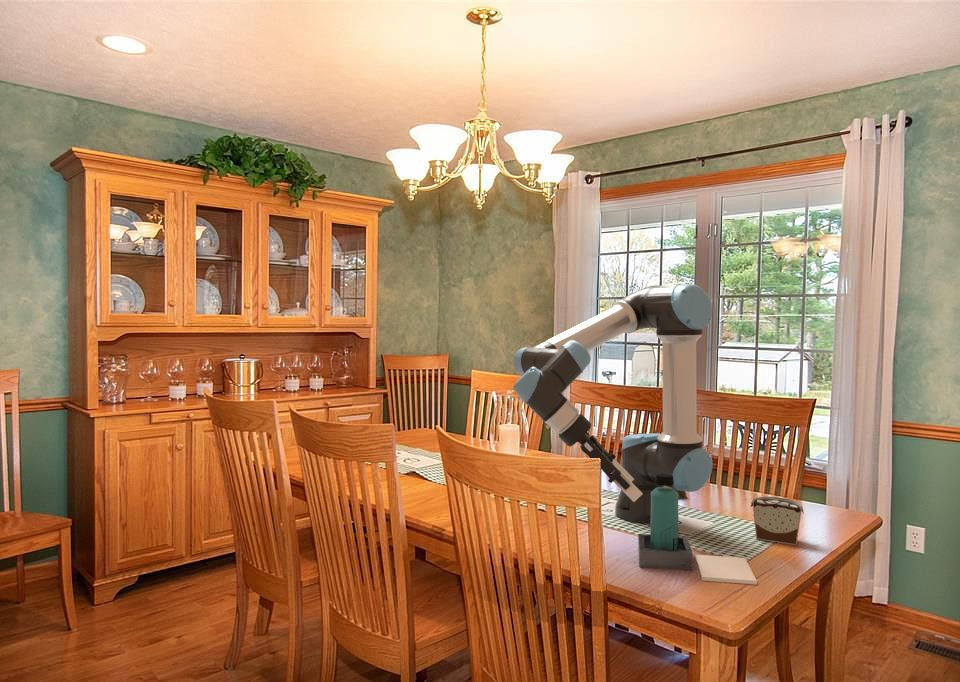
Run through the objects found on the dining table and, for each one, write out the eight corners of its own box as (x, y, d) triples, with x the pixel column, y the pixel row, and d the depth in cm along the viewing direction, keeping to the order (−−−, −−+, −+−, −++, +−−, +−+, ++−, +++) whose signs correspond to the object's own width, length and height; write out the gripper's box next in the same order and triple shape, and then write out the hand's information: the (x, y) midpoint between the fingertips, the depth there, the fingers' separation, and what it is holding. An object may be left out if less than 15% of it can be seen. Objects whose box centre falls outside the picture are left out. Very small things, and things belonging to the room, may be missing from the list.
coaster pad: (695, 557, 160) (695, 554, 160) (745, 561, 158) (745, 557, 158) (702, 580, 146) (702, 576, 146) (756, 584, 144) (756, 580, 144)
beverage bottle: (675, 567, 154) (676, 478, 153) (645, 562, 157) (646, 475, 157) (681, 558, 160) (682, 473, 159) (653, 553, 163) (654, 470, 162)
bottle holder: (638, 550, 165) (638, 533, 165) (687, 553, 163) (687, 536, 163) (639, 567, 154) (639, 549, 154) (692, 571, 152) (692, 553, 152)
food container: (805, 539, 174) (806, 500, 173) (803, 546, 168) (803, 505, 168) (753, 531, 180) (754, 493, 180) (749, 538, 175) (750, 499, 174)
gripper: (555, 426, 172) (616, 487, 171) (558, 445, 147) (629, 516, 146) (577, 405, 171) (638, 467, 170) (583, 420, 146) (654, 492, 145)
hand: (634, 490), depth 158 cm, fingers open, 13 cm apart
